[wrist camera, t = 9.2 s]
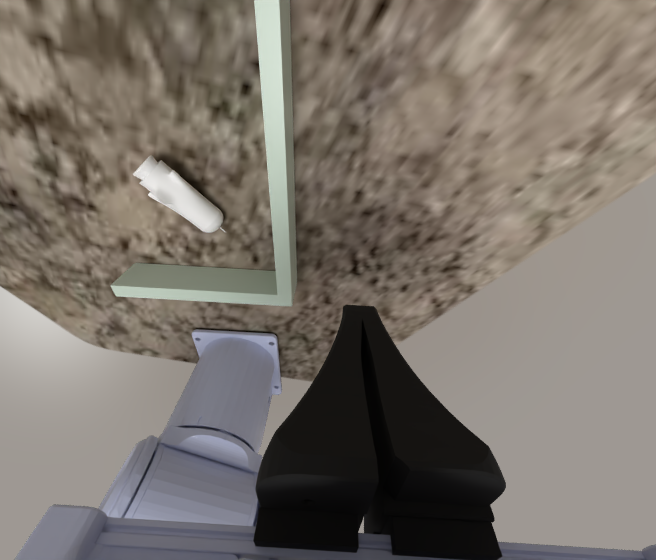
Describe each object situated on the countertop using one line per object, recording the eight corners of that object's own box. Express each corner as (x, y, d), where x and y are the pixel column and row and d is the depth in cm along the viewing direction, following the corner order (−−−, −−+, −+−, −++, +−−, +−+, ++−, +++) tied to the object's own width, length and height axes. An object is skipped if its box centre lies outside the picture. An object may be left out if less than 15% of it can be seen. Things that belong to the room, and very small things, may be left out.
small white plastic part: (189, 237, 21) (169, 259, 19) (145, 153, 18) (114, 166, 16) (234, 229, 21) (219, 251, 18) (197, 142, 18) (173, 153, 15)
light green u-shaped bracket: (297, 282, 23) (291, 306, 21) (139, 273, 23) (115, 296, 21) (288, -41, 13) (276, -68, 10) (0, -56, 13) (-79, -86, 10)
